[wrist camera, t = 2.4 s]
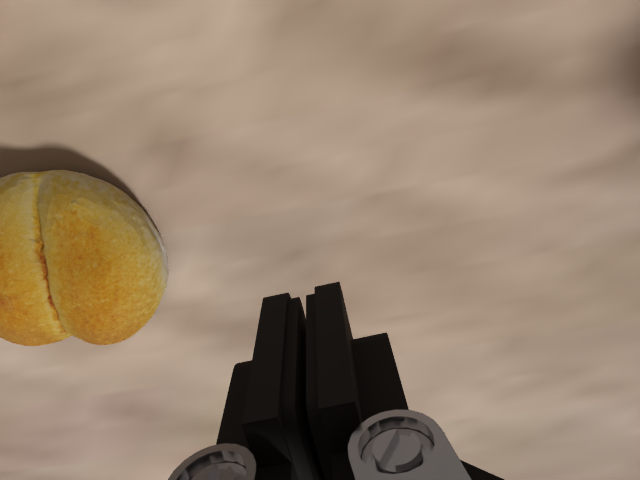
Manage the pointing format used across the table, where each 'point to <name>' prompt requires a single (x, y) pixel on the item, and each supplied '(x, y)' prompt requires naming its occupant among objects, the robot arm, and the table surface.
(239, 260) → the table surface
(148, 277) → the bread roll
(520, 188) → the table surface
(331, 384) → the robot arm
